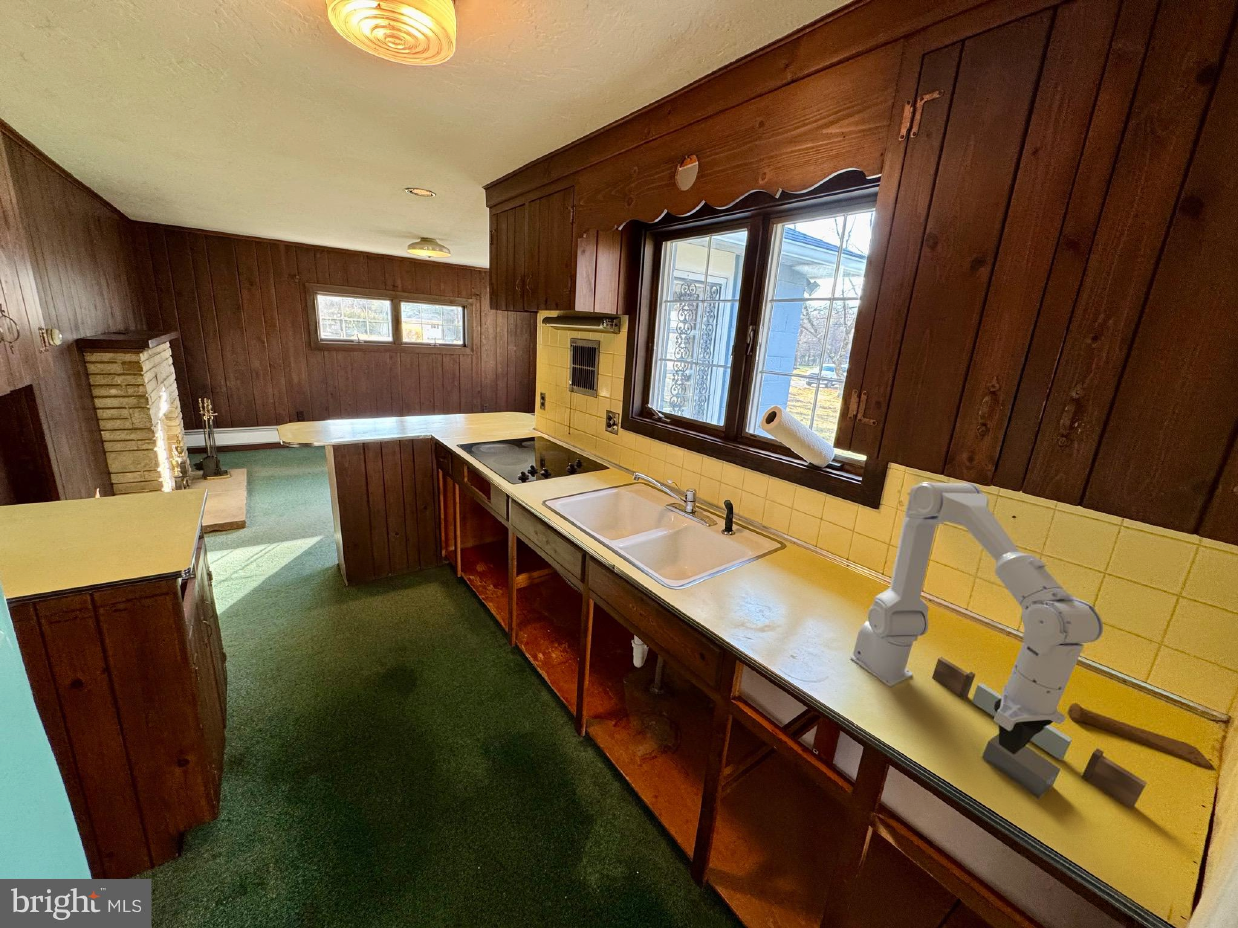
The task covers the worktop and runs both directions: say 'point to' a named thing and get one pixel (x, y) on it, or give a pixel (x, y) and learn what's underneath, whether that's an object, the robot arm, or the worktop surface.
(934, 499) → the robot arm
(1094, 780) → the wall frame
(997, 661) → the worktop surface
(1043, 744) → the pale grey-green bar
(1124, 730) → the primitive tool
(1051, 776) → the block
